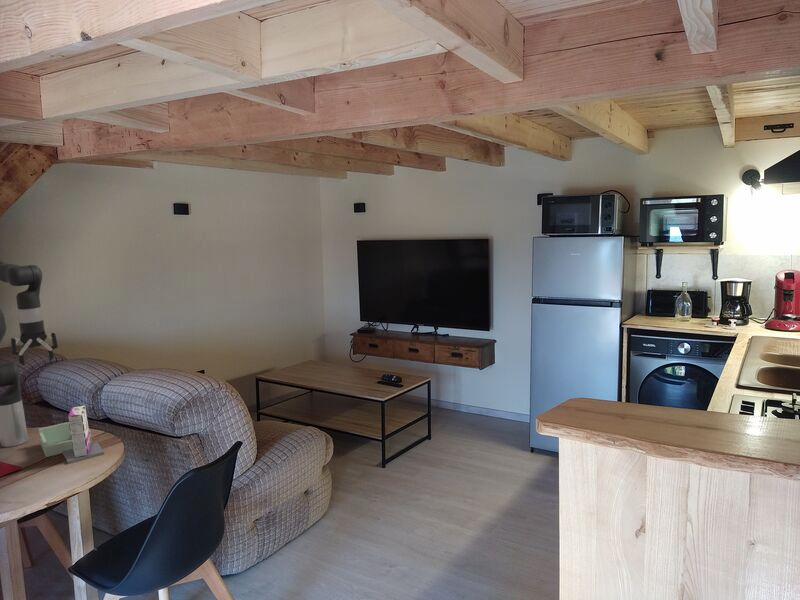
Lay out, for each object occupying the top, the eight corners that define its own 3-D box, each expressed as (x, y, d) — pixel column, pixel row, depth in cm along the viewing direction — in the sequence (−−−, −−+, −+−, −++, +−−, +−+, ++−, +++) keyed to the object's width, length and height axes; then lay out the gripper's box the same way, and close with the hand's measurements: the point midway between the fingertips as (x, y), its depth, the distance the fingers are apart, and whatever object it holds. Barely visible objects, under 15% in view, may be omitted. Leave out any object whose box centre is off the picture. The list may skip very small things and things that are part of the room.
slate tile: (63, 453, 216) (62, 451, 216) (97, 444, 223) (97, 442, 223) (68, 463, 207) (67, 461, 206) (104, 454, 214) (103, 451, 214)
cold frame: (41, 445, 225) (38, 428, 224) (86, 434, 235) (83, 418, 234) (46, 457, 213) (43, 439, 212) (93, 445, 223) (90, 428, 222)
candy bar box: (76, 447, 219) (71, 407, 216) (91, 444, 221) (86, 404, 218) (73, 458, 209) (67, 416, 206) (88, 455, 211) (82, 413, 208)
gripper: (51, 315, 214) (57, 356, 217) (6, 321, 205) (12, 364, 208) (55, 318, 208) (60, 360, 211) (8, 324, 199) (15, 368, 202)
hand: (36, 362), depth 210 cm, fingers open, 8 cm apart
